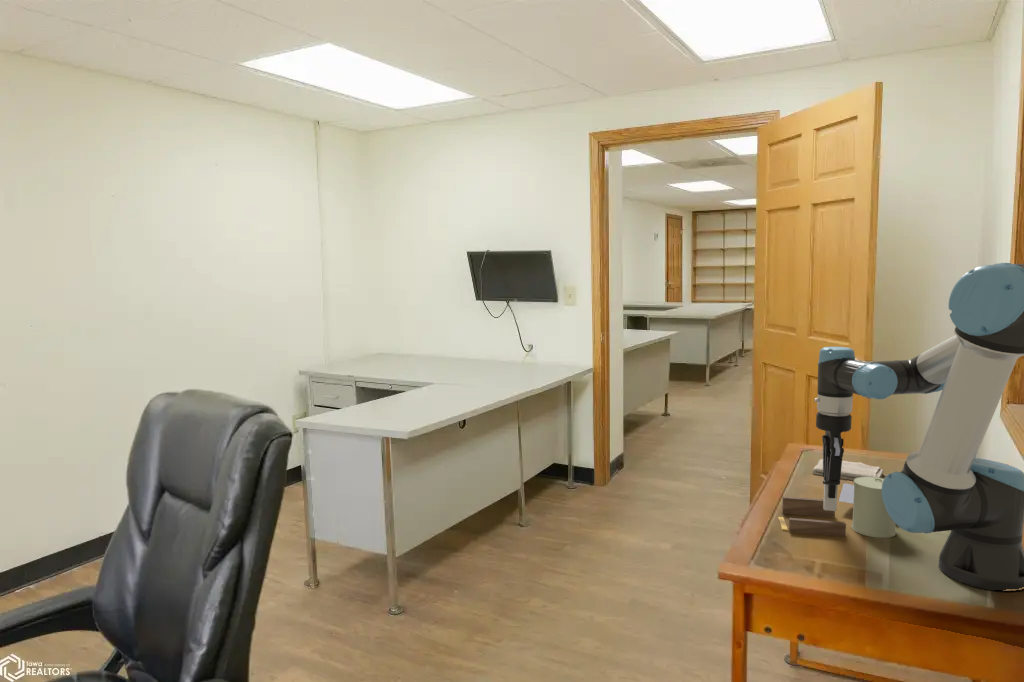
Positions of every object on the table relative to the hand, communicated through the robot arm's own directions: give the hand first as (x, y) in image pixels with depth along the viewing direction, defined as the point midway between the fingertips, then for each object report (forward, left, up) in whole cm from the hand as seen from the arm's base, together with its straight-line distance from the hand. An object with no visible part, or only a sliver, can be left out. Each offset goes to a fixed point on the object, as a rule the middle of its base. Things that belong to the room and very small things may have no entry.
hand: (829, 509), depth 163 cm
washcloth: (+44, -13, -5) cm, 46 cm away
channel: (0, +4, -4) cm, 5 cm away
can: (-1, -9, -4) cm, 10 cm away
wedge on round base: (+10, -11, -4) cm, 16 cm away
